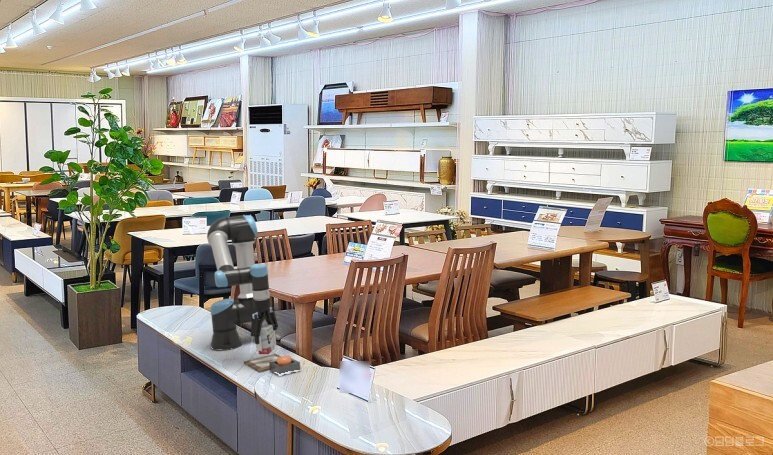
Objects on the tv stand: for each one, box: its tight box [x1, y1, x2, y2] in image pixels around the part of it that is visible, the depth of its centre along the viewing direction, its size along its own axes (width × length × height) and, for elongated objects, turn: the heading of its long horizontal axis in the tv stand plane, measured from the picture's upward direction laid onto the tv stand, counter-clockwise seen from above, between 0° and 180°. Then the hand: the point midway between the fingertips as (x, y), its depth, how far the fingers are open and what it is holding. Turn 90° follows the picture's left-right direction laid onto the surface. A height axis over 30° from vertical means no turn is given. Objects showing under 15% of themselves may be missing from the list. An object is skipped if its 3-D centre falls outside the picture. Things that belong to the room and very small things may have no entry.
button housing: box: [269, 357, 301, 374], centre depth 297 cm, size 10×10×4 cm
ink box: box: [257, 323, 276, 355], centre depth 308 cm, size 9×5×12 cm, turn 168°
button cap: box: [277, 355, 292, 366], centre depth 297 cm, size 6×6×4 cm
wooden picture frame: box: [243, 353, 282, 373], centre depth 310 cm, size 18×16×1 cm
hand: (266, 347), depth 309 cm, fingers closed on ink box, 9 cm apart
